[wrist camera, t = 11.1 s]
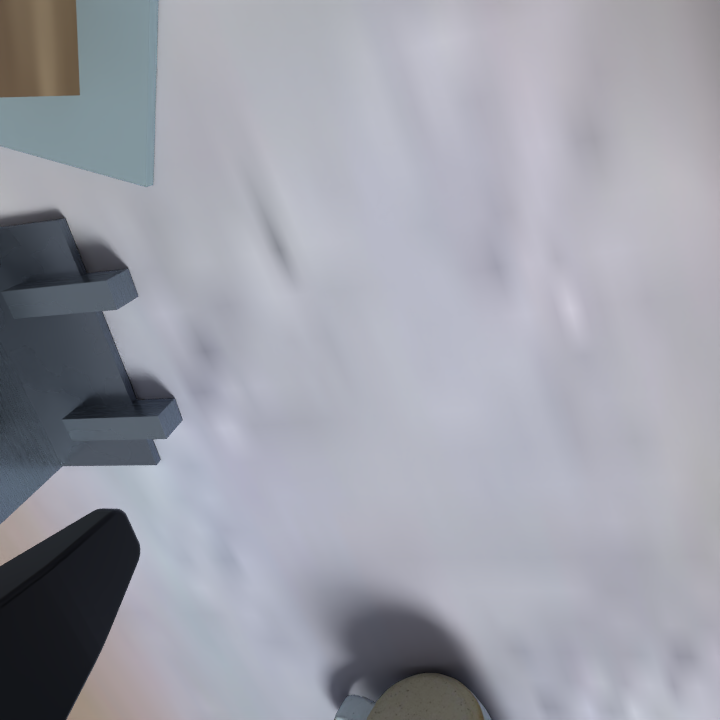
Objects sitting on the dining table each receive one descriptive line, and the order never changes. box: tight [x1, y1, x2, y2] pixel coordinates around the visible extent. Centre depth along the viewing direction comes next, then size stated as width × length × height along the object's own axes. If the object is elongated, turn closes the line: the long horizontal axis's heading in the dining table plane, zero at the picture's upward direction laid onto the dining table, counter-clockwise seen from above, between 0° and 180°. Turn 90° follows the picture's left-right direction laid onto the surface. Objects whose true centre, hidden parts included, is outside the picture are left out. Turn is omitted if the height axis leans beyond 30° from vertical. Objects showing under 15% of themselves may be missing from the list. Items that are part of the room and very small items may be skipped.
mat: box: [0, 0, 158, 187], centre depth 18 cm, size 9×9×1 cm
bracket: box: [0, 218, 182, 524], centre depth 22 cm, size 8×12×5 cm
